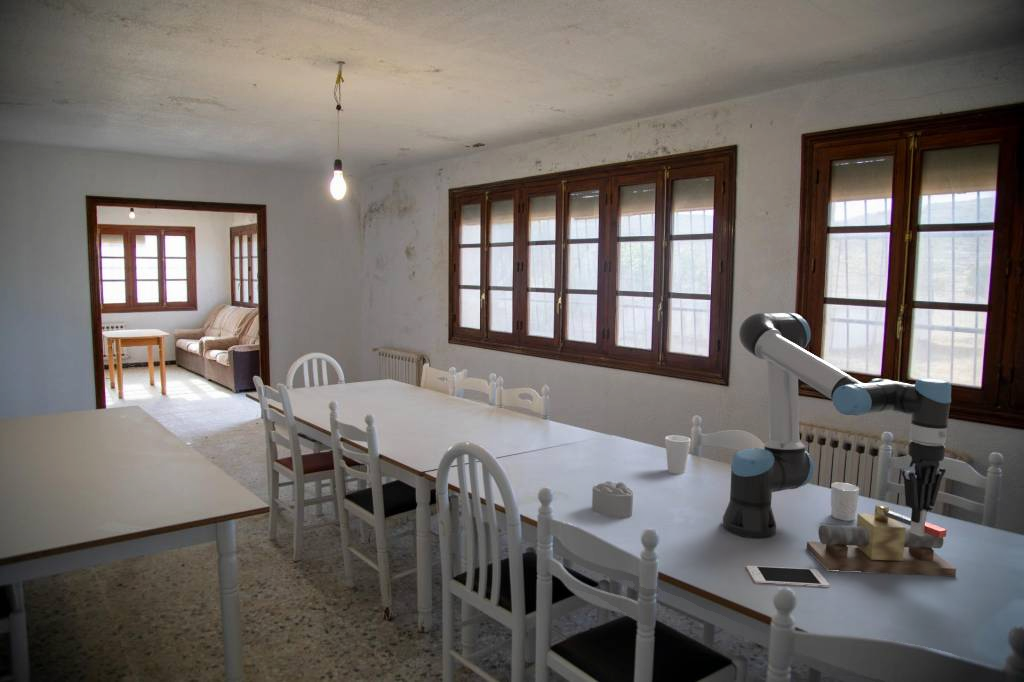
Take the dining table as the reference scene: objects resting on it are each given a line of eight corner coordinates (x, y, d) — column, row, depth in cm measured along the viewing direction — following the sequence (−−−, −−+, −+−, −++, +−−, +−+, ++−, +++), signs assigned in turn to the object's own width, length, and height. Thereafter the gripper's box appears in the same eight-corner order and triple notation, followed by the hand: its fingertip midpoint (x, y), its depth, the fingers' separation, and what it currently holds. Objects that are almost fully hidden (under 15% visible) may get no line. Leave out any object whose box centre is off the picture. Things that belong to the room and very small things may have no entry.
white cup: (825, 517, 206) (827, 486, 205) (833, 510, 212) (835, 480, 211) (852, 523, 201) (855, 492, 200) (860, 517, 206) (862, 486, 205)
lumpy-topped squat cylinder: (609, 502, 217) (609, 476, 216) (640, 513, 207) (641, 487, 206) (587, 509, 210) (588, 483, 209) (618, 521, 200) (619, 494, 199)
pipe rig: (828, 571, 169) (831, 528, 167) (806, 548, 182) (809, 508, 181) (955, 576, 167) (959, 533, 166) (924, 552, 181) (927, 512, 180)
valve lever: (937, 543, 158) (939, 530, 158) (871, 518, 174) (872, 505, 174) (946, 541, 160) (947, 528, 159) (879, 516, 175) (880, 504, 175)
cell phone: (745, 568, 170) (745, 565, 170) (816, 572, 169) (816, 569, 169) (754, 584, 162) (755, 581, 162) (830, 588, 160) (830, 585, 160)
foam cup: (669, 466, 257) (671, 434, 255) (692, 470, 251) (694, 437, 250) (660, 472, 249) (661, 439, 248) (683, 477, 244) (684, 443, 242)
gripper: (924, 448, 154) (913, 543, 157) (959, 444, 159) (948, 536, 162) (894, 439, 161) (885, 531, 164) (930, 436, 166) (920, 525, 168)
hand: (916, 533), depth 163 cm, fingers closed
